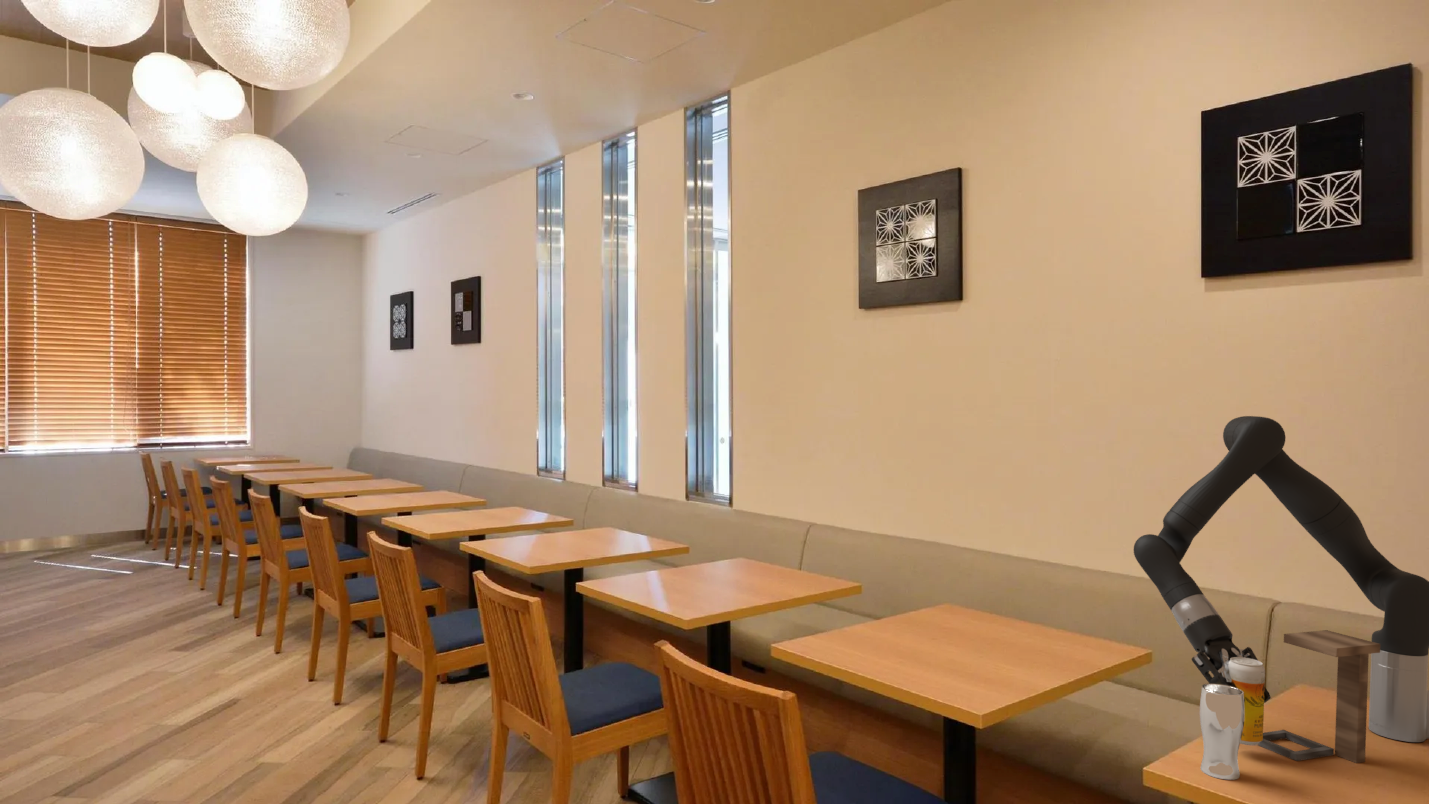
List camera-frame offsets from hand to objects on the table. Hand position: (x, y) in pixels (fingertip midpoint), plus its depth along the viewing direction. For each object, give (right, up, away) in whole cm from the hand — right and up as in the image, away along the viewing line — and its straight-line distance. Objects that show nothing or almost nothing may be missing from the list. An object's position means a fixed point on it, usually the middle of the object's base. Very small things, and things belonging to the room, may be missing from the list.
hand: (1253, 702), depth 166 cm
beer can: (-1, -8, +2) cm, 8 cm away
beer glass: (-11, -10, -7) cm, 17 cm away
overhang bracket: (+13, -11, +3) cm, 17 cm away
